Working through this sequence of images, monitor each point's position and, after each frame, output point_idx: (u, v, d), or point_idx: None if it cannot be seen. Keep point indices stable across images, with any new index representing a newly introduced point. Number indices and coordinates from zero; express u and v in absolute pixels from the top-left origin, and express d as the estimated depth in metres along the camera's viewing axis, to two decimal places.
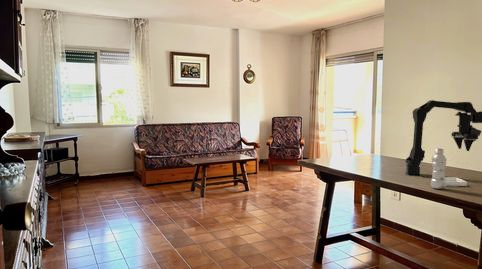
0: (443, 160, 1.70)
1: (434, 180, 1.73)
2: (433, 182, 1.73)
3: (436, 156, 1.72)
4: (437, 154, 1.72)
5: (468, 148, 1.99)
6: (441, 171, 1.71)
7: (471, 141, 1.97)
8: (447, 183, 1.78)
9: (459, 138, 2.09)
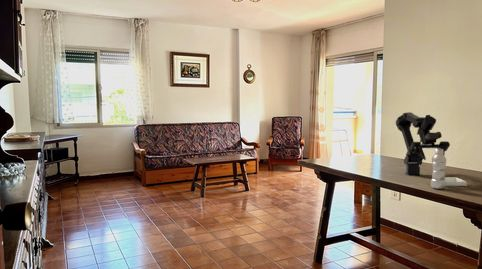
0: (443, 160, 1.70)
1: (434, 180, 1.73)
2: (433, 182, 1.73)
3: (436, 156, 1.72)
4: (437, 154, 1.72)
5: (422, 157, 1.82)
6: (441, 171, 1.71)
7: None
8: (447, 183, 1.78)
9: None
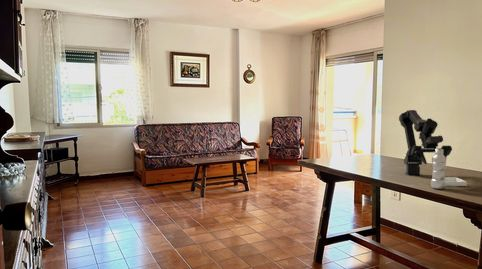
0: (443, 160, 1.70)
1: (434, 180, 1.73)
2: (433, 182, 1.73)
3: (436, 156, 1.72)
4: (437, 154, 1.72)
5: (423, 161, 1.79)
6: (441, 171, 1.71)
7: None
8: (447, 183, 1.78)
9: None
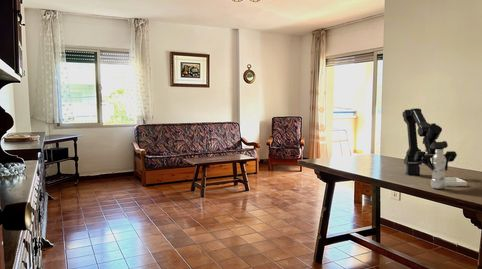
0: (443, 160, 1.70)
1: (434, 180, 1.73)
2: (433, 182, 1.73)
3: (436, 156, 1.72)
4: (437, 154, 1.72)
5: (430, 167, 1.74)
6: (441, 171, 1.71)
7: None
8: (447, 183, 1.78)
9: None
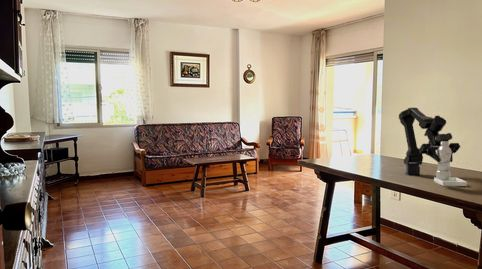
0: (449, 152, 1.72)
1: (440, 171, 1.75)
2: (439, 174, 1.75)
3: (442, 147, 1.74)
4: (443, 146, 1.74)
5: (436, 159, 1.75)
6: (447, 162, 1.73)
7: (432, 151, 1.77)
8: (447, 183, 1.78)
9: None
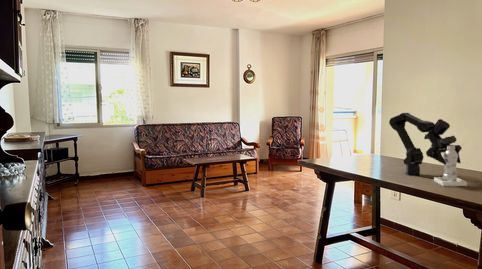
0: (456, 155, 1.79)
1: (448, 175, 1.81)
2: (447, 177, 1.81)
3: (449, 152, 1.80)
4: (450, 150, 1.80)
5: (442, 161, 1.80)
6: (454, 165, 1.80)
7: (438, 154, 1.82)
8: (447, 183, 1.78)
9: None
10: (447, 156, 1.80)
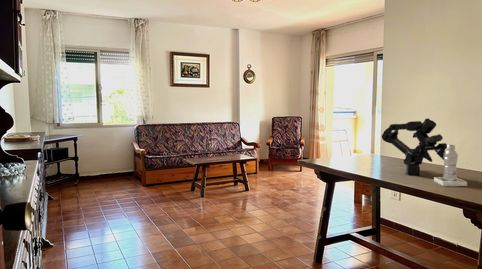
0: (456, 155, 1.79)
1: (448, 175, 1.81)
2: (447, 177, 1.81)
3: (449, 152, 1.80)
4: (450, 150, 1.80)
5: (429, 159, 1.89)
6: (454, 165, 1.80)
7: (424, 152, 1.91)
8: (447, 183, 1.78)
9: (440, 151, 1.94)
10: (447, 156, 1.80)
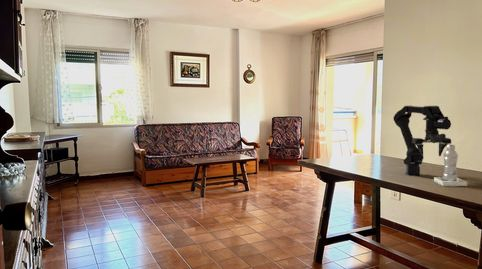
0: (456, 155, 1.79)
1: (448, 175, 1.81)
2: (447, 177, 1.81)
3: (449, 152, 1.80)
4: (450, 150, 1.80)
5: (421, 153, 1.95)
6: (454, 165, 1.80)
7: None
8: (447, 183, 1.78)
9: (440, 145, 1.93)
10: (447, 156, 1.80)
